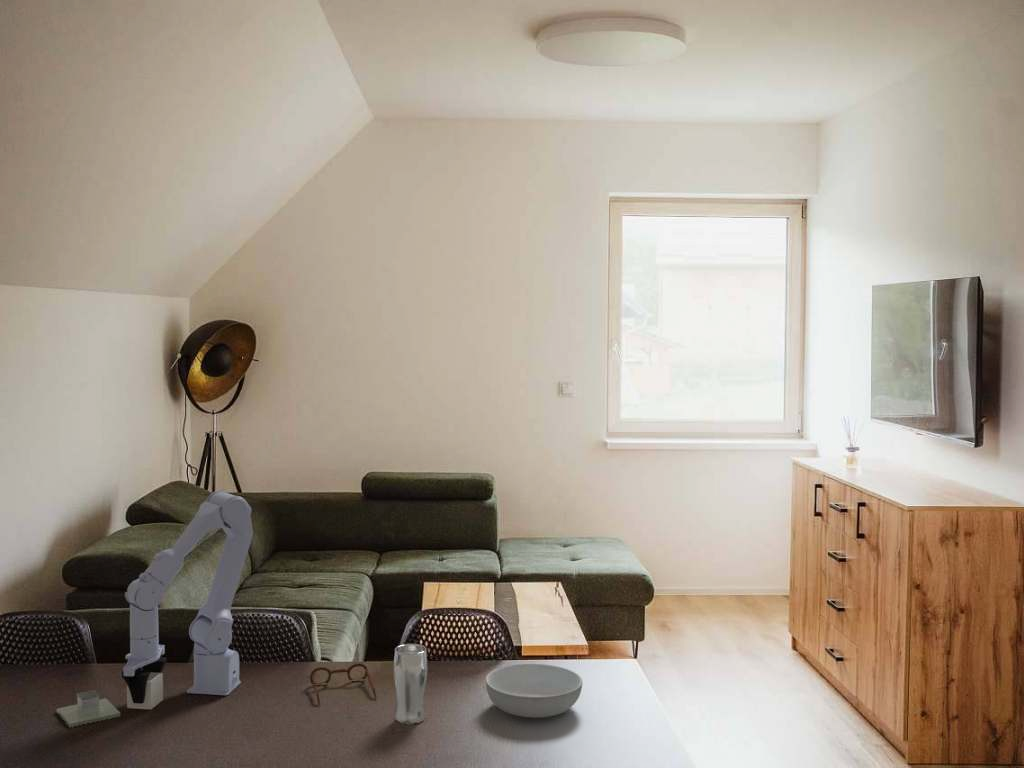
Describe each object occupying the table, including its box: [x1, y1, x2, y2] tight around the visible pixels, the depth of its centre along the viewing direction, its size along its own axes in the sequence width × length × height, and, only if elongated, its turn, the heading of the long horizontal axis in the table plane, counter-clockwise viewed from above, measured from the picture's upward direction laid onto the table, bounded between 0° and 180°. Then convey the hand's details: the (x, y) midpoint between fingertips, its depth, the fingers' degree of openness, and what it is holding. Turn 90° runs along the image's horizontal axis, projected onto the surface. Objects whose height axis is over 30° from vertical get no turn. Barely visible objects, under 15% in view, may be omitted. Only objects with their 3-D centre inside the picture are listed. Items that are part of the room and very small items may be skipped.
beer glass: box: [393, 643, 428, 725], centre depth 212 cm, size 7×7×15 cm
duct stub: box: [56, 689, 121, 729], centre depth 212 cm, size 10×10×4 cm
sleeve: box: [126, 672, 164, 710], centre depth 218 cm, size 5×5×6 cm
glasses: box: [309, 662, 378, 706], centre depth 226 cm, size 13×13×5 cm
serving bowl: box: [485, 663, 583, 719], centre depth 218 cm, size 21×21×7 cm
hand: (145, 697), depth 218 cm, fingers closed on sleeve, 5 cm apart
